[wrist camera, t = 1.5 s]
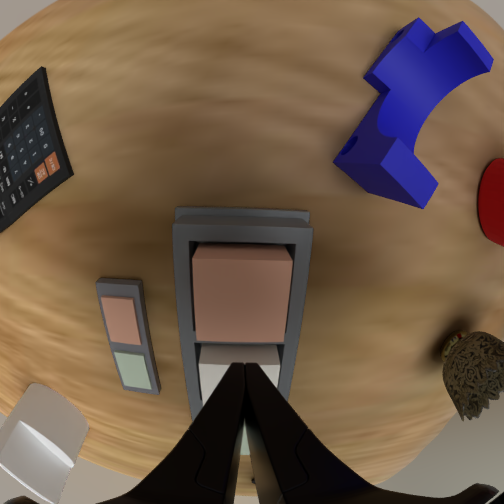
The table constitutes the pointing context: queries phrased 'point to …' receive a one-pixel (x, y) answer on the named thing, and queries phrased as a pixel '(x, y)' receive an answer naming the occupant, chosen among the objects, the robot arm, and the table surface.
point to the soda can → (492, 201)
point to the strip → (128, 333)
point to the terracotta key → (241, 292)
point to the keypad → (239, 232)
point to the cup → (473, 370)
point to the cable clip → (408, 108)
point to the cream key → (222, 355)
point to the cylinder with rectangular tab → (42, 441)
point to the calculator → (29, 149)
